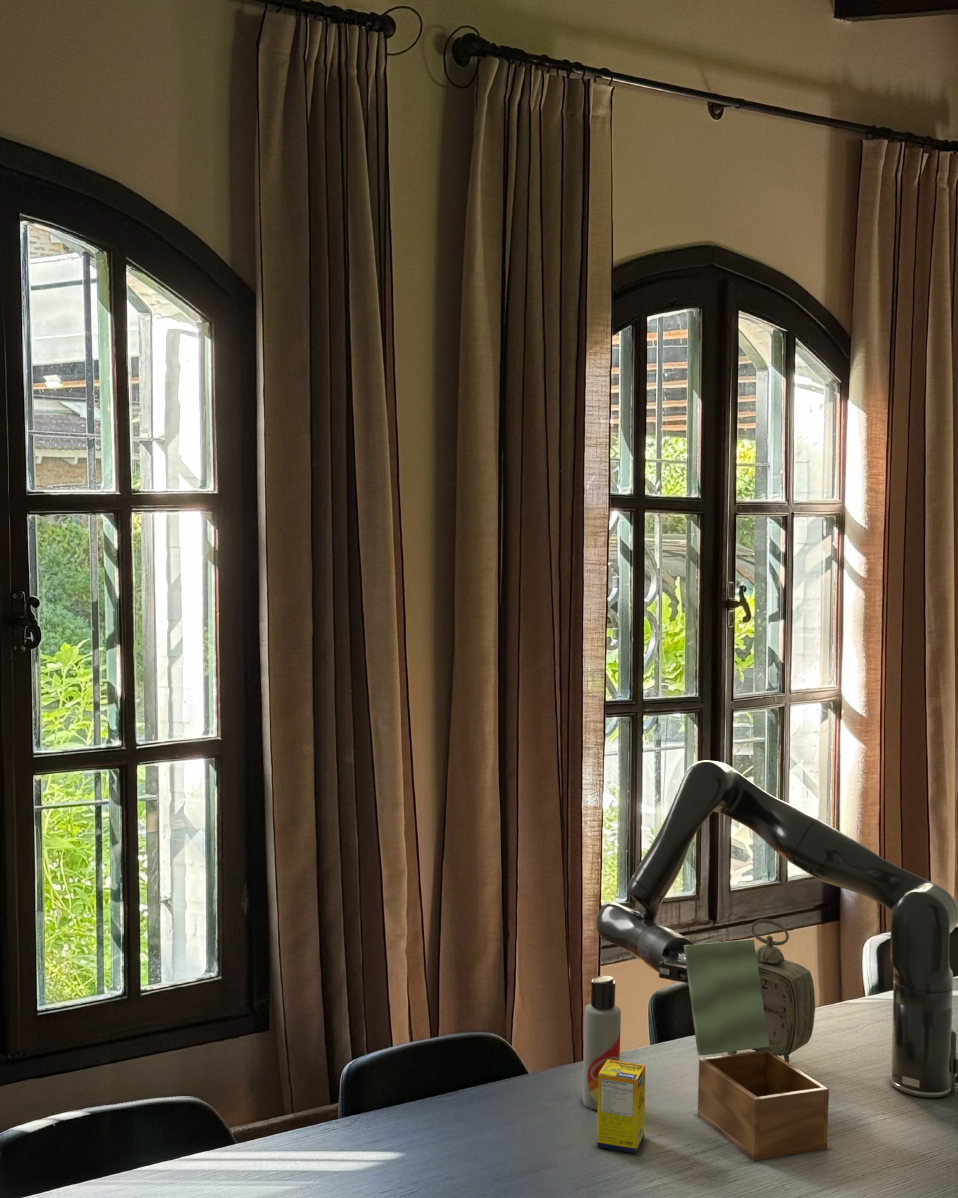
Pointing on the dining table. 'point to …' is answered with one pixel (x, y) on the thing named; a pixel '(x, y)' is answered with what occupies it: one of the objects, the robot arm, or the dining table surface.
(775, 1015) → the tabletop clock
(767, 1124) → the box
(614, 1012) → the lotion bottle
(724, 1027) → the box lid
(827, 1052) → the dining table surface
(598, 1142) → the supplement box
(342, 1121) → the dining table surface
